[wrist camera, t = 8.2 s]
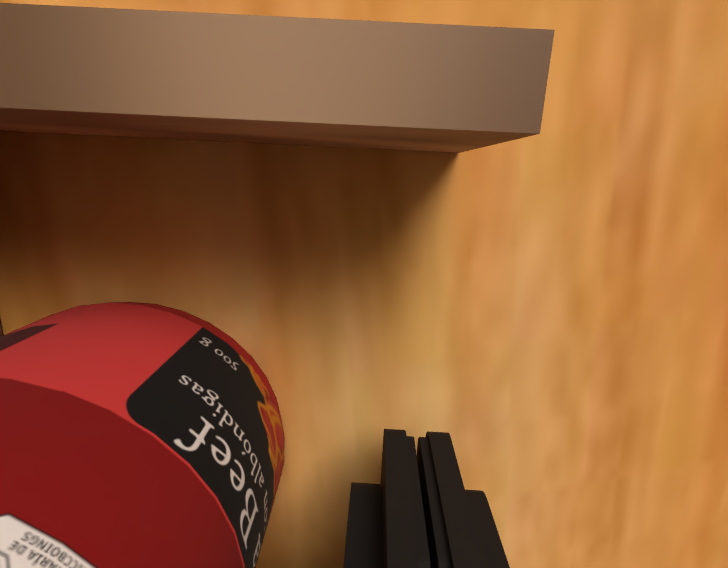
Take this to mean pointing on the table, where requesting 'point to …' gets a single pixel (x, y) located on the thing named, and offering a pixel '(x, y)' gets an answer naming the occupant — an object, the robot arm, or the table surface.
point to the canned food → (134, 442)
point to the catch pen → (269, 78)
